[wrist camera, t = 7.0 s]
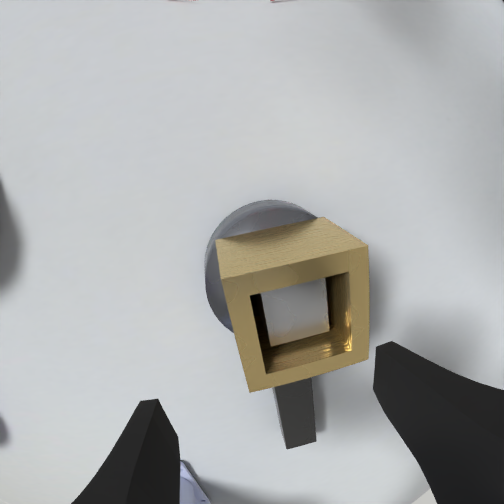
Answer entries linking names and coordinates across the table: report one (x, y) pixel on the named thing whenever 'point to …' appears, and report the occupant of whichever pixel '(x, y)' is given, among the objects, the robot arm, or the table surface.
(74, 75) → the table surface
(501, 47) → the table surface
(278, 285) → the open wooden box
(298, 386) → the ratchet
